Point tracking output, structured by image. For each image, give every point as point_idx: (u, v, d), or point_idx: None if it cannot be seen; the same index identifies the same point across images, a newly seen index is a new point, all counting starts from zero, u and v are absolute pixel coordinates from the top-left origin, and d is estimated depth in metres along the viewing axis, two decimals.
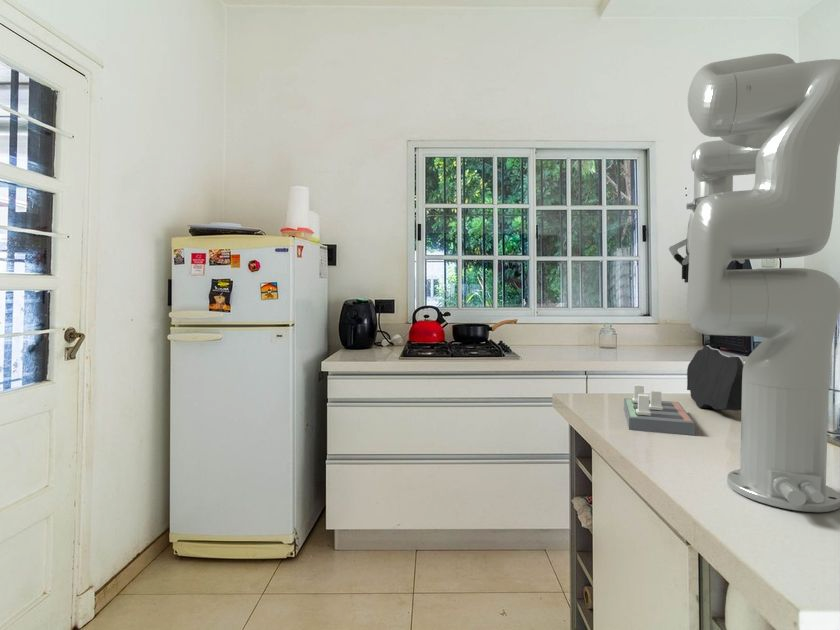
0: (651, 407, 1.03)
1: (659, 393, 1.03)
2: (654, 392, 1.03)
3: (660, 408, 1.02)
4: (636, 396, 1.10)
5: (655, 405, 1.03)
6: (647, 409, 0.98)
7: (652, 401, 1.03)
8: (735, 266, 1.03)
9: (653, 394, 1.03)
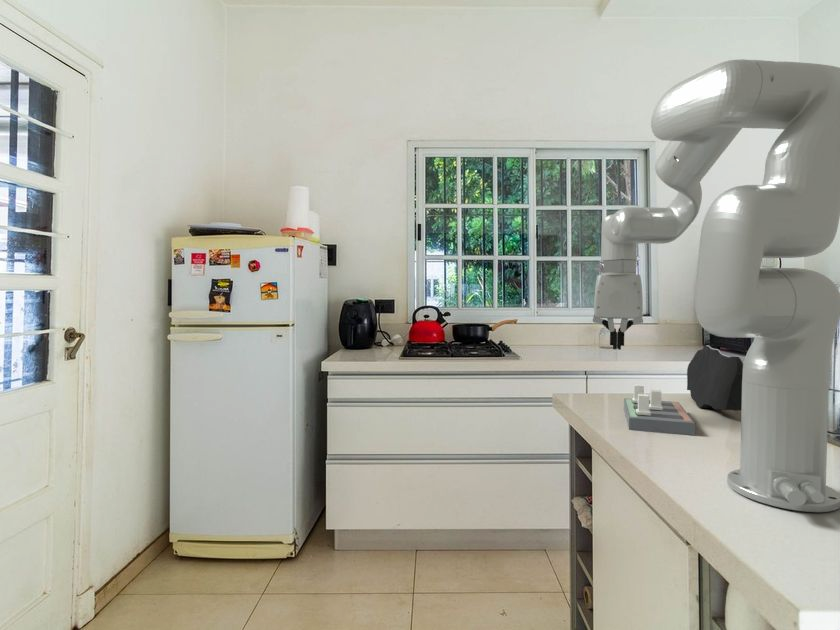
0: (651, 407, 1.03)
1: (659, 393, 1.03)
2: (654, 392, 1.03)
3: (660, 408, 1.02)
4: (636, 396, 1.10)
5: (655, 405, 1.03)
6: (647, 409, 0.98)
7: (652, 401, 1.03)
8: (617, 334, 1.06)
9: (653, 394, 1.03)
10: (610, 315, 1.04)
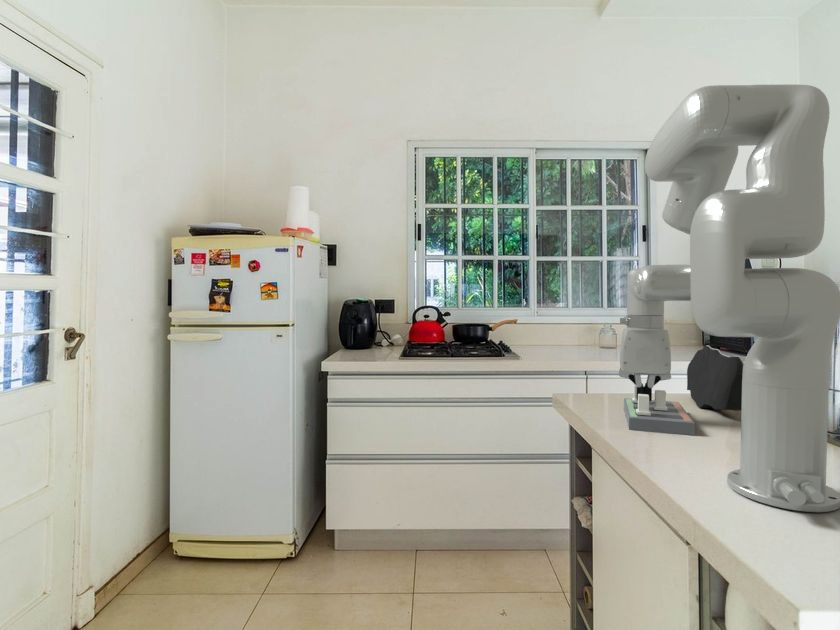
0: (656, 407, 1.03)
1: (664, 393, 1.02)
2: (659, 392, 1.03)
3: (665, 408, 1.02)
4: None
5: (660, 405, 1.03)
6: (647, 409, 0.98)
7: (657, 401, 1.03)
8: (645, 390, 1.04)
9: (658, 394, 1.03)
10: (637, 371, 1.02)
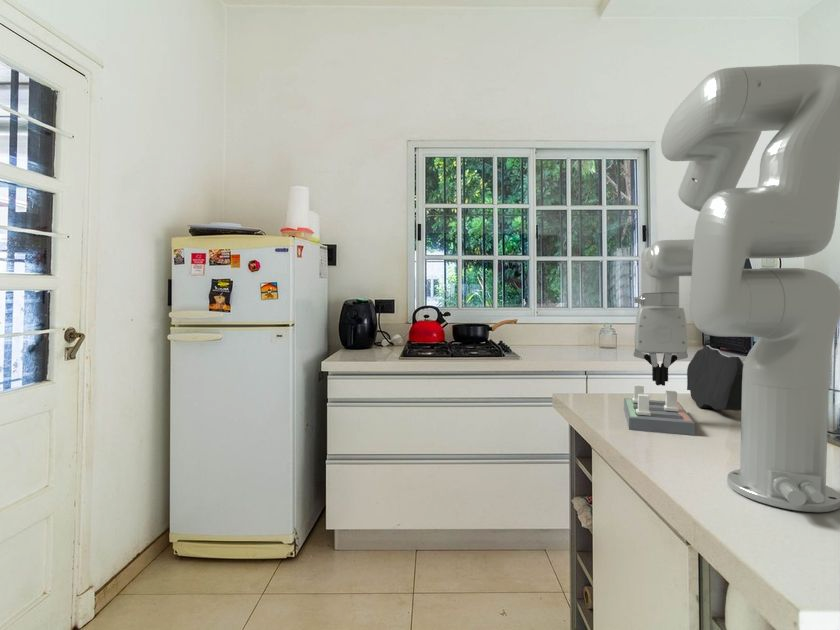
0: (667, 408, 1.02)
1: (675, 394, 1.01)
2: (670, 393, 1.02)
3: (676, 409, 1.01)
4: (636, 396, 1.10)
5: (671, 406, 1.02)
6: (647, 409, 0.98)
7: (668, 402, 1.02)
8: None
9: (669, 395, 1.02)
10: (653, 350, 1.01)
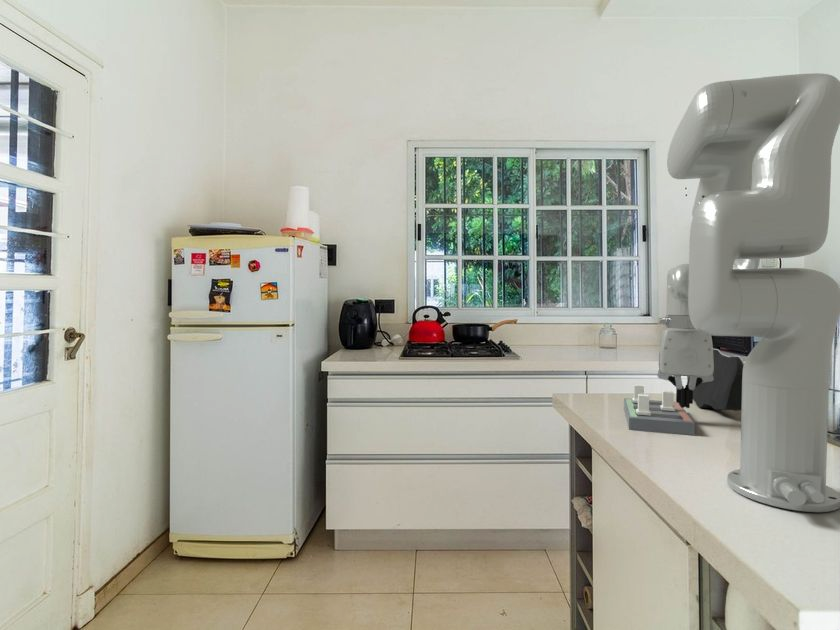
0: (663, 408, 1.02)
1: (671, 394, 1.02)
2: (666, 393, 1.02)
3: (672, 409, 1.02)
4: (636, 396, 1.10)
5: (667, 406, 1.02)
6: (647, 409, 0.98)
7: (664, 402, 1.02)
8: (685, 392, 1.01)
9: (665, 395, 1.02)
10: (678, 372, 1.00)
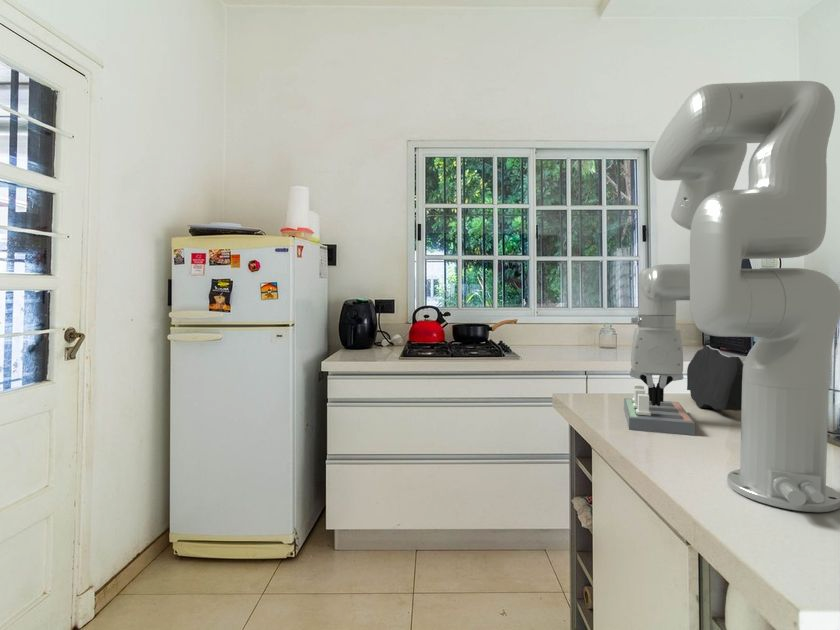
0: (635, 406, 1.04)
1: (643, 392, 1.04)
2: (638, 391, 1.04)
3: None
4: None
5: None
6: (647, 409, 0.98)
7: (636, 400, 1.04)
8: (656, 390, 1.03)
9: (637, 393, 1.04)
10: (649, 371, 1.02)
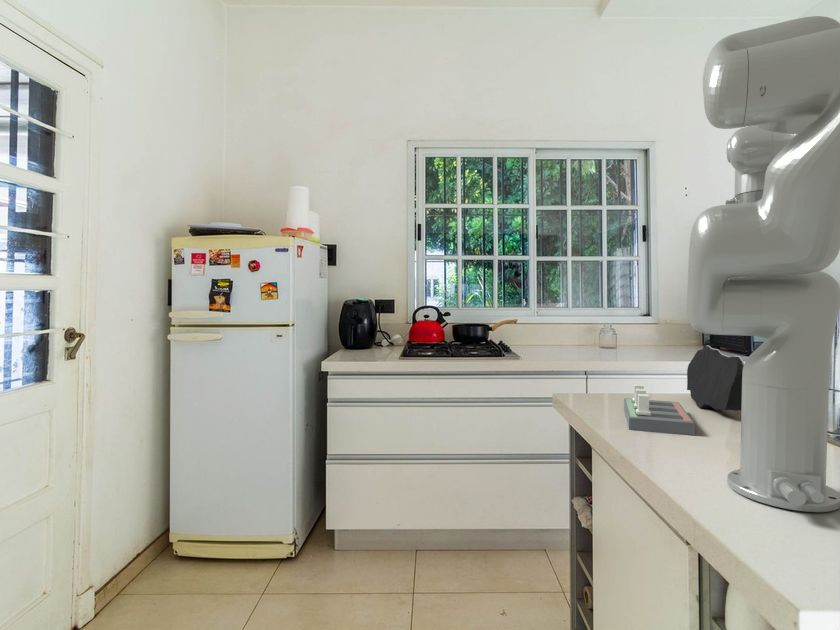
0: (636, 406, 1.04)
1: (644, 392, 1.04)
2: (639, 391, 1.04)
3: None
4: None
5: None
6: (647, 409, 0.98)
7: (637, 400, 1.04)
8: None
9: (638, 393, 1.04)
10: None
